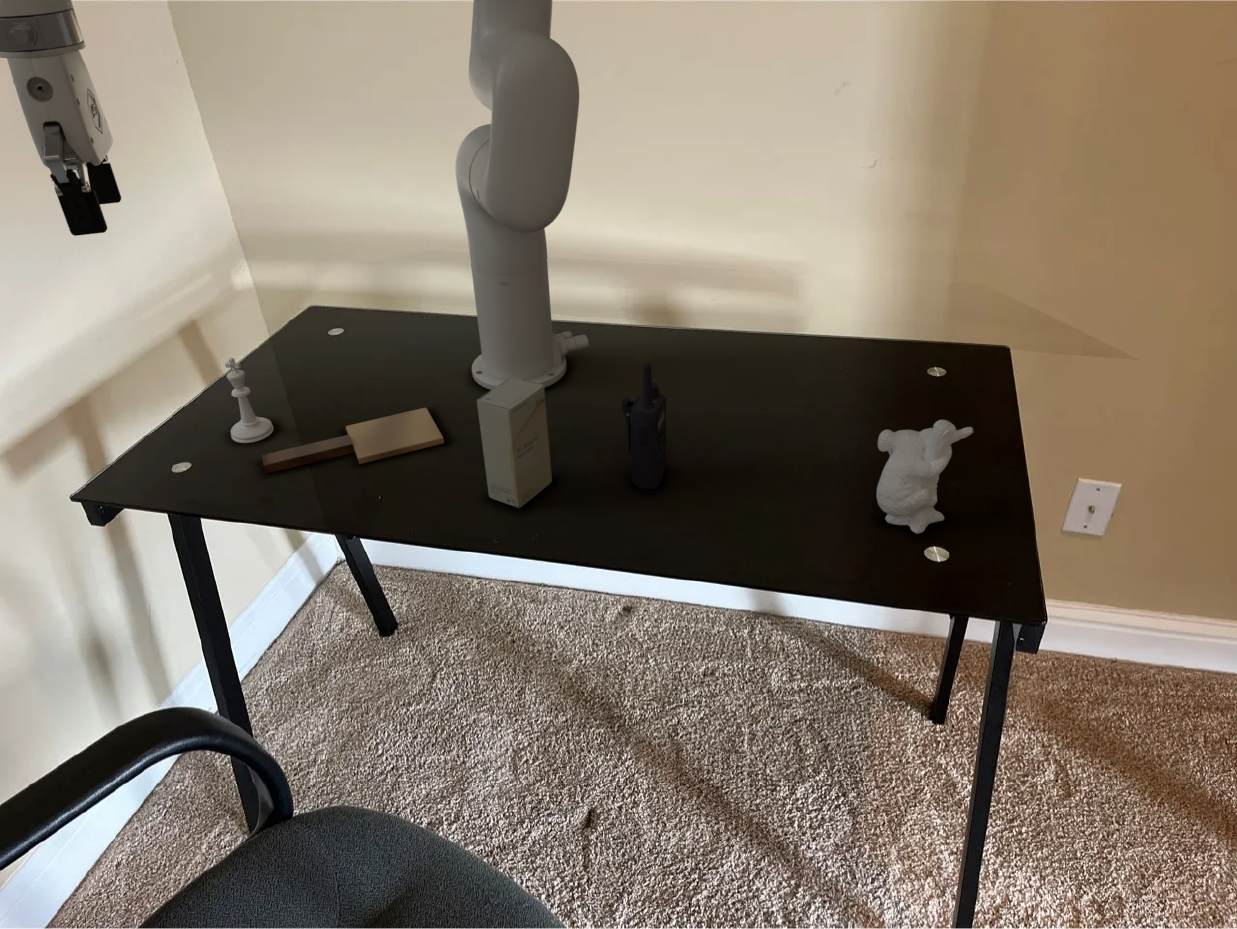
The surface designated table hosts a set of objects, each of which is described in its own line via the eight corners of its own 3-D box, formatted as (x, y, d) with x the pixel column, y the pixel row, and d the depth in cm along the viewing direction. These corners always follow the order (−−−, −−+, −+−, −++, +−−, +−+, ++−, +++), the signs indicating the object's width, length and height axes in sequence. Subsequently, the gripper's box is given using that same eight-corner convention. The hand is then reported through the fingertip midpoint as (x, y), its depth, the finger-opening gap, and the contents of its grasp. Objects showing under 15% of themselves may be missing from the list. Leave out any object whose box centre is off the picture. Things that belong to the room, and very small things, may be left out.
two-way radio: (656, 495, 99) (656, 371, 91) (617, 488, 100) (613, 366, 92) (669, 467, 103) (670, 346, 95) (631, 461, 104) (629, 342, 96)
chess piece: (260, 444, 109) (239, 370, 104) (223, 441, 110) (199, 367, 105) (281, 423, 113) (261, 350, 108) (245, 420, 114) (223, 347, 109)
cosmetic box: (519, 510, 97) (509, 411, 90) (486, 498, 99) (474, 400, 93) (554, 480, 102) (546, 384, 95) (521, 469, 104) (512, 374, 97)
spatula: (427, 412, 115) (425, 404, 114) (444, 443, 109) (443, 434, 108) (260, 451, 108) (258, 443, 108) (269, 487, 102) (266, 478, 101)
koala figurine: (955, 510, 95) (977, 410, 89) (948, 548, 90) (971, 446, 84) (872, 494, 98) (887, 396, 91) (861, 530, 93) (877, 429, 86)
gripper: (62, 46, 78) (126, 241, 87) (95, 17, 92) (147, 189, 101) (-38, 53, 76) (39, 251, 86) (11, 23, 90) (73, 196, 99)
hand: (98, 217), depth 93 cm, fingers open, 9 cm apart
